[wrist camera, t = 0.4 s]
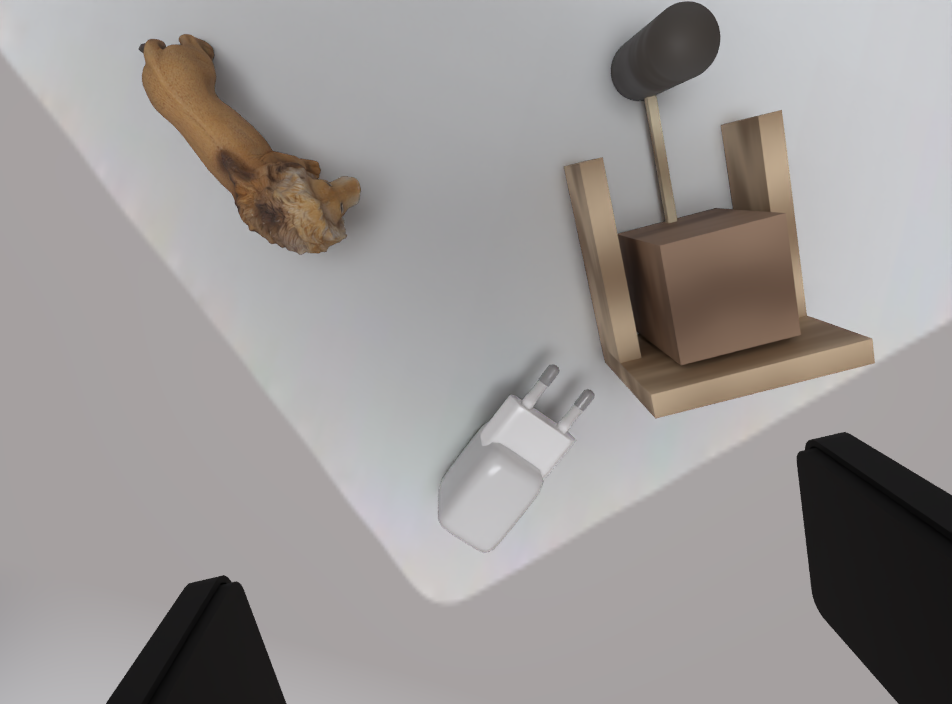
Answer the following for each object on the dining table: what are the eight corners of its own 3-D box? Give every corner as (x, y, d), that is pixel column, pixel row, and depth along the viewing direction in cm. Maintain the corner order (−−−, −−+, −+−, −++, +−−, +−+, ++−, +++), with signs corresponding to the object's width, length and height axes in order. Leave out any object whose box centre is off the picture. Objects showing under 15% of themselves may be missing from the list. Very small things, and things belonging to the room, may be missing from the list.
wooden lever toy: (581, 53, 35) (618, 14, 27) (687, 24, 35) (756, -23, 27) (635, 330, 39) (680, 365, 31) (730, 305, 39) (800, 334, 31)
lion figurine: (389, 195, 36) (371, 197, 28) (333, 266, 37) (297, 290, 28) (172, 9, 33) (74, -54, 25) (116, 90, 34) (3, 57, 26)
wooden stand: (563, 166, 36) (605, 158, 26) (741, 119, 36) (848, 93, 26) (604, 361, 39) (655, 418, 29) (769, 320, 39) (874, 363, 29)
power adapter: (532, 340, 39) (547, 366, 33) (594, 384, 40) (618, 417, 34) (428, 477, 41) (425, 524, 35) (489, 516, 42) (495, 568, 36)
